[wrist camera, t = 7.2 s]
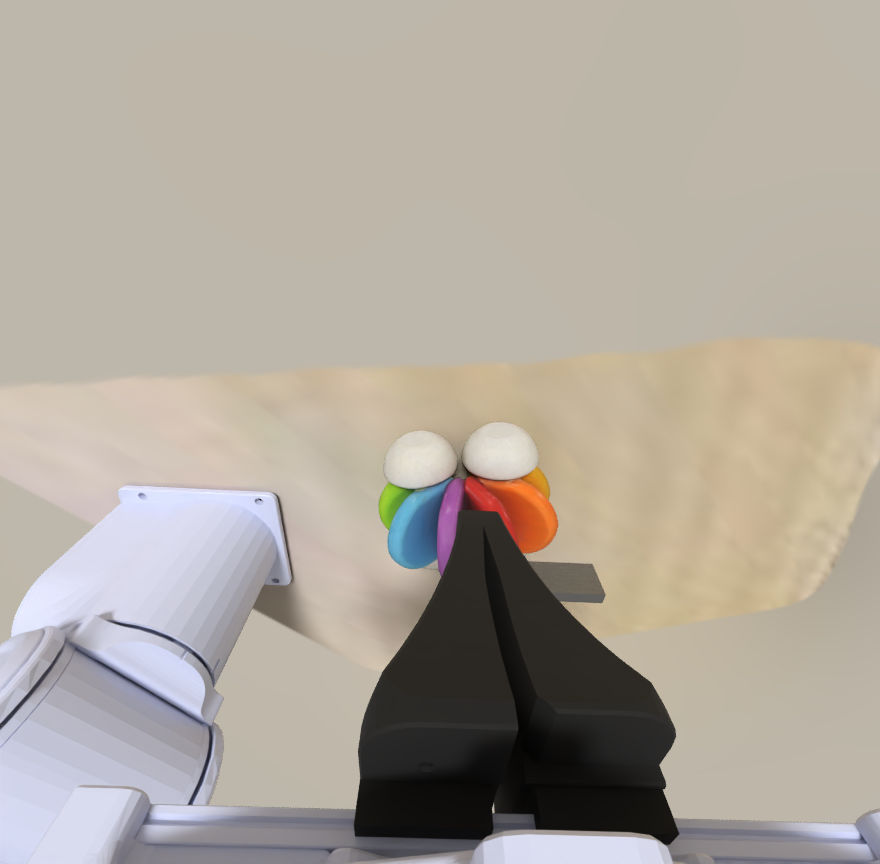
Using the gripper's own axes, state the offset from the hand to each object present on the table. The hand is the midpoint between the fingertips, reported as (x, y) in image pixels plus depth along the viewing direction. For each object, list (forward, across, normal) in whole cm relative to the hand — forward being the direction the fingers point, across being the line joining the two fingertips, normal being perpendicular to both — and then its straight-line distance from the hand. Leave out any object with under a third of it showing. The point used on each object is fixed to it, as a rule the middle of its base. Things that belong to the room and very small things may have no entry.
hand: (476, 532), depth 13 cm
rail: (+9, -5, +12) cm, 16 cm away
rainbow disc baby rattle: (+10, 0, +4) cm, 11 cm away
